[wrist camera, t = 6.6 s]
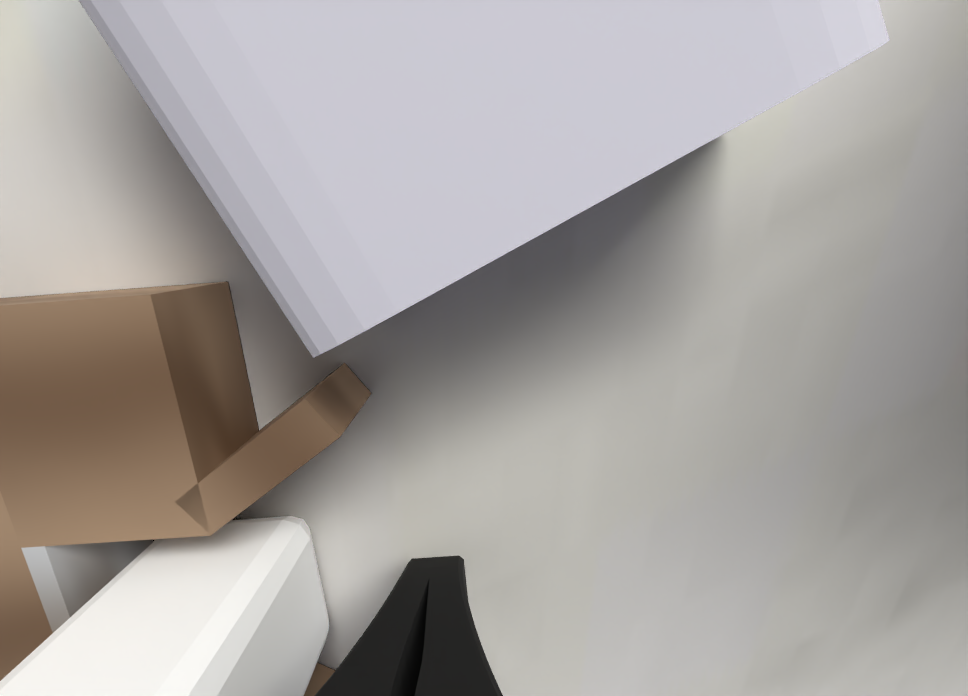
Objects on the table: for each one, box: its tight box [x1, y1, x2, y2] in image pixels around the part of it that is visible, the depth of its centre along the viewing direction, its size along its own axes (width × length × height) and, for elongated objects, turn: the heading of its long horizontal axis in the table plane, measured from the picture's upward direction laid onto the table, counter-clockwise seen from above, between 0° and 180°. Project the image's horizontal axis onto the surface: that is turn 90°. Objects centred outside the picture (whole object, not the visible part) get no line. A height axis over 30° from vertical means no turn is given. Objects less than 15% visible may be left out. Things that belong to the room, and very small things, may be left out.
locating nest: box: [0, 282, 371, 696], centre depth 11 cm, size 16×11×2 cm
